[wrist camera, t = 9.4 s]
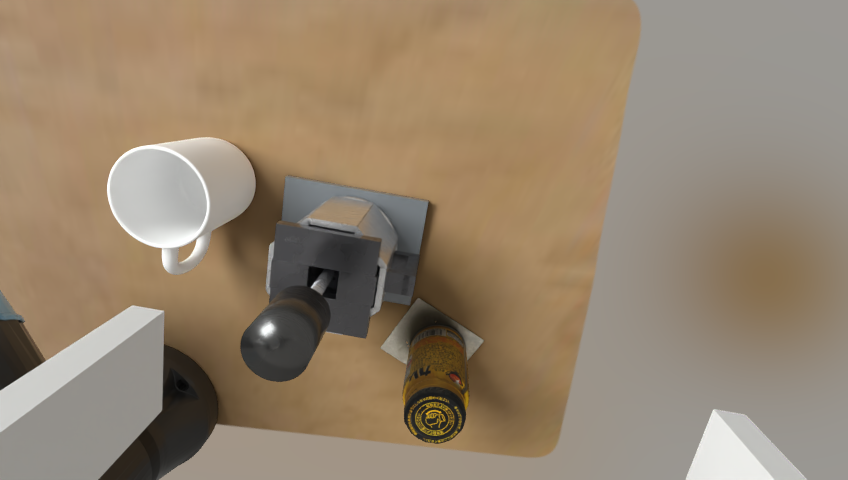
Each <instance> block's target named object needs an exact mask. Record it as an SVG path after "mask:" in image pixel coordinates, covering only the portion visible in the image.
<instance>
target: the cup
mask: <svg viewBox="0 0 848 480" xmlns="http://www.w3.org/2000/svg"><path fill="white" fill-rule="evenodd" d="M255 188H256V180H255V174H254V170H253V168H252V165H251V163H250V162H249V160H248V158H247V157H246V156H245V155H244V153H243V152H242V151H241V150H240V149H238V148H237V147H236V146H234V145H233V144H231V143H229V142H227V141H225V140H222V139H218V138H211V137H204V138H195V139H188V140H181V141H174V142H168V143H161V144H154V145H147V146H141V147H137V148H134V149H132V150H130V151H128V152H126V153H125V154H124V155H122V156H121V157H120V158H119V159H118V160H117V162H116V163H115V164H114V166H113V168H112V170H111V172H110V175H109V179H108V186H107V192H108V200H109V204H110V207H111V210H112V212H113V214H114V216H115V218H116V219H117V221H118V222H119V224H120V225H121V226H122V227H123V228H124V229H125V230H126V231H127V232H128V233H129V234H130V235H131V236H133V237H134V238H135V239H137V240H139V241H140V242H142V243H144V244H147V245H150V246H153V247H157V248H162V261H163V266H164V268H165V269H166V271H167V272H169V273H171V274H174V275H179V274H183V273H186V272H188V271H190V270H192V269H193V268H195V267H196V266H197V265H198V264H199V263H200V262H201V260H202V259H203V258H204V256H205V254H206V252H207V250H208V247H209V243H210V238H211V231H212V230H214V229H216V228H218V227H220V226H222V225H223V224H225V223H227V222H229V221H231V220H233V219H234V218H236V217H237V216H239V215H240V214H242V213H243V212H244V211H245V210H246V209H247V208H248V206H249V205H250V203H251V202H252V200H253V197H254V194H255ZM196 239H197V241H196V246H195V248H194V251H193V253H192V254H191V255H190V256H189V257H188V258H187V259H186V260H184V261H182V262H179V263H178V251H179V247H182V246H184V245H187V244H189V243H191V242H192V241H194V240H196Z"/></svg>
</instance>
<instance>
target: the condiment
mask: <svg viewBox="0 0 848 480" xmlns="http://www.w3.org/2000/svg"><path fill="white" fill-rule="evenodd" d="M435 321H436V322H435ZM406 341H407V342H408V344H407V343H406ZM483 341H484V340H483V339H481V338H480V337H478V336H477V335H475V334H474V333H472V332H471V331H469V330H467V329H466V328H465V327H463V326H462V325H460V324H458V323H457V322H456V321H454V320H452V319H451V318H449V317H447V316H446V315H444V314H443V313H441V312H440V311H438V310H437V309H435V308H434V307H432V306H431V305H429V304H427V303H425V302H424V301H423V300H421V299H419V298H418V299H417V300H416V301H415V303H414V304H413V305H412V306H411V308H410V309H409V310H408V312H407V313H406V314H405V315H404V317H403V318H402V319H401V321H400V322H399V324H398V325H397V326H396V327H395V329H394V330H393V332H392V333H391V334H390V336H389V337H388V338H387V340H386V341H385V342H384V344H383V345H382V346H381V349H382V350H384V351H385V352H387V353H389V354H390V355H392V356H393V357H395V358H396V359H398V360H400V361H401V362H403V363H404V364H406V365H407V367H406V375H405V380H404V387H403V402H404V406H405V408H404V422H405V424H406V425H407V427H408V429H409V430H410V432H411V433H412V434H413V435H414V436H416V437H417V438H418V439H420V440H422V441H425V442H430V443H436V444H438V443H443V442H446V441H449V440H451V439H453V438H454V437H455V436H456V435H457V434H458V433H459V432H460V431H461V430H462V429H463V426H464V423H465V420H466V409H467V407H468V403H469V384H468V368H467V366H468V364H467V361H468V359H469V358H470V357H471V356H472V355H473V353H474V352H475V351H476V350H477V349H478V348H479V346H480V345H481V344H482V343H483ZM408 345H409V347H408Z"/></svg>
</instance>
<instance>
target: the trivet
mask: <svg viewBox="0 0 848 480" xmlns="http://www.w3.org/2000/svg"><path fill="white" fill-rule="evenodd" d="M333 196H357V197H361V198H364V199H367V200H369V201H371V202H373V203H375V204H376V205H377V206H379V207H380V208H381V209H382V210H383V211H384V212H385V213H386V214H387V215H388V217H389V218H390V220H391V221H392V223H393V225H394V227H395V230H396V233H397V234H398V248H397V251H402V252H408V253H413V254H419V252H420V247H421V241H422V235H423V230H424V224H425V219H426V213H427V207H428V202H429V200H424V199H418V198H413V197H407V196H401V195H396V194H390V193H385V192H379V191H373V190H368V189H362V188H357V187H351V186H345V185H340V184H334V183H329V182H323V181H317V180H312V179H306V178H301V177H295V176H289V175H288V176H286V177H285V188H284V199H283V210H282V221H287V222H293V223H297V222H299V221H300V220H301V219H302V218H304V217H305V216H306V215H308V214H309V213H311V211H312V210H313V209H315V208H316V207H317V206H318V205H320V204H321V203H323V202H324V201H326V200H328V199H330V198H331V197H333ZM383 301H388V302H394V303H399V304H405V305H410V303H411V296H405V295H399V294H394V293H388V292H386V293H385V296H384V299H383Z"/></svg>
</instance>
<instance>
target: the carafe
mask: <svg viewBox="0 0 848 480" xmlns="http://www.w3.org/2000/svg"><path fill="white" fill-rule="evenodd" d="M315 225H317V226H322V227H328V228H333V229H339V230H345V231H350V232H354V233H355V234H354V233H349V232H343V231H338V230H332V229H326V228H321V227H315ZM397 248H398V234H397V233H396V230H395V227H394V225H393V223H392V221H391V220H390V218H389V217H388V215H387V214H386V213H385V212H384V211H383V210H382V209H381V208H380V207H379V206H377V205H376V204H375V203H373V202H371V201H369V200H367V199H364V198H361V197H357V196H333V197H331V198H330V199H328V200H326V201H324V202H323V203H321V204H320V205H318V206H317V207H316V208H315V209H313V210H312V211H311V213H309V214H308V215H306V216H305V217H304V218H302V219H301V220H300V221H299V222H297V223H293V222H287V221H282V220H280V221H279V222H277V223H276V231H275V241H274V242H272V243H271V244H270V245H269V256H268V267H267V279H266V291H267V293H268V294H269V295H270V299H269V303H270V302H271V301H272V300H273V299H274V298H275V297H276V295H277V294H278V293H279V292H280V291H282V290H283V289H285V288H287V287H290V286H296V285H301V286H307V287H310V288H311V286H312V285H313V284H314V282H315V281H316V280H317V279H316V278H315V277H314V276H313V275H312V273H311V268H312V266H313V267H319V268H324V269H330V270H336V271H339V278H338V285H337V289H333V288H330V287H327V288H326V290H325V291H324V293H323V294H322V296H323V297H324V298H325V300H326V301H327V303H328V305H329V308H330V312H331V319H330V323H329V326H328V328H327V330H326V332H329V333H334V334H340V335H342V334H343V335H349V336H354V337H360V338H366V336H367V333H368V328H369V321H370V317H371V316H372V315H374V314H375V313H377V312H378V311H380V308H381V305H382V302H383V299H384V296H385V293H386V292H388V293H394V294H399V295H405V296H411V297H412V296H413V291H414V285H415V280H416V274H417V269H418V263H419V258H420V255H419V254H413V253H408V252H402V251H397ZM378 265H379V268H378ZM377 269H378V270H377Z"/></svg>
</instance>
